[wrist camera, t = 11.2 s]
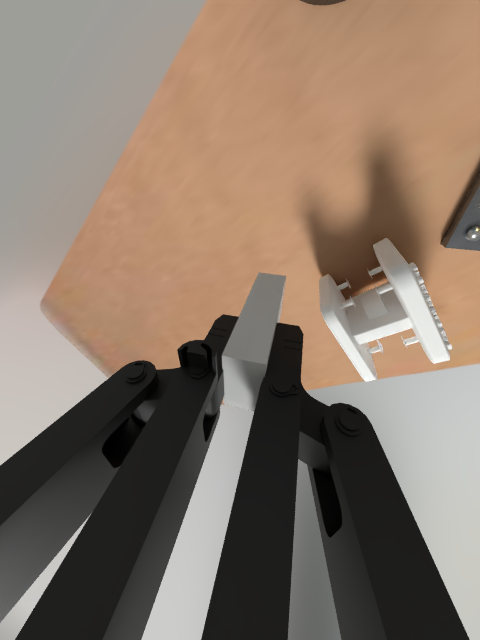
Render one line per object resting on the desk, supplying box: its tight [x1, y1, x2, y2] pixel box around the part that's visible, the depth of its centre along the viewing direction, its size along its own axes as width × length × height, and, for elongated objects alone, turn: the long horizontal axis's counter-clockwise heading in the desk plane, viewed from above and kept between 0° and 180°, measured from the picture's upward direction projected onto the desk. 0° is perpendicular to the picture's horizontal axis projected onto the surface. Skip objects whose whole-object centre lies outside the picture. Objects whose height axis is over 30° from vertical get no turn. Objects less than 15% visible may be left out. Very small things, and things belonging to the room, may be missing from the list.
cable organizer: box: [319, 238, 452, 382], centre depth 32 cm, size 15×11×12 cm
